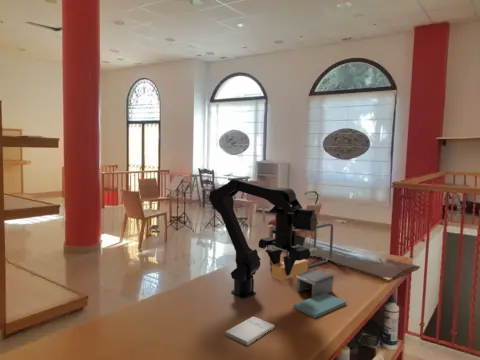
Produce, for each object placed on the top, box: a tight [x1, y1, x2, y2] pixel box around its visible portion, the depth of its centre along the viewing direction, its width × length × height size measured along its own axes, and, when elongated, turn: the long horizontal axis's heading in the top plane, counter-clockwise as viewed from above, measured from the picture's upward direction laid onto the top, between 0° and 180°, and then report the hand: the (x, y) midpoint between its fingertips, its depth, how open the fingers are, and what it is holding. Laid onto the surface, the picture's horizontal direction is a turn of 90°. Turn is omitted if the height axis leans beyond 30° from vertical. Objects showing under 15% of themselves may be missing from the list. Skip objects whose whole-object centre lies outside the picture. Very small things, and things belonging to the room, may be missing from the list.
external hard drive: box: [224, 316, 275, 346], centre depth 107 cm, size 2×8×12 cm
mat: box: [293, 293, 347, 319], centre depth 124 cm, size 16×9×1 cm, turn 129°
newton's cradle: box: [269, 220, 334, 269], centre depth 164 cm, size 30×10×18 cm, turn 130°
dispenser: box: [295, 269, 334, 298], centre depth 135 cm, size 11×8×6 cm
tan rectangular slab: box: [271, 259, 309, 282], centre depth 126 cm, size 13×4×4 cm, turn 130°
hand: (282, 273), depth 124 cm, fingers closed on tan rectangular slab, 4 cm apart
